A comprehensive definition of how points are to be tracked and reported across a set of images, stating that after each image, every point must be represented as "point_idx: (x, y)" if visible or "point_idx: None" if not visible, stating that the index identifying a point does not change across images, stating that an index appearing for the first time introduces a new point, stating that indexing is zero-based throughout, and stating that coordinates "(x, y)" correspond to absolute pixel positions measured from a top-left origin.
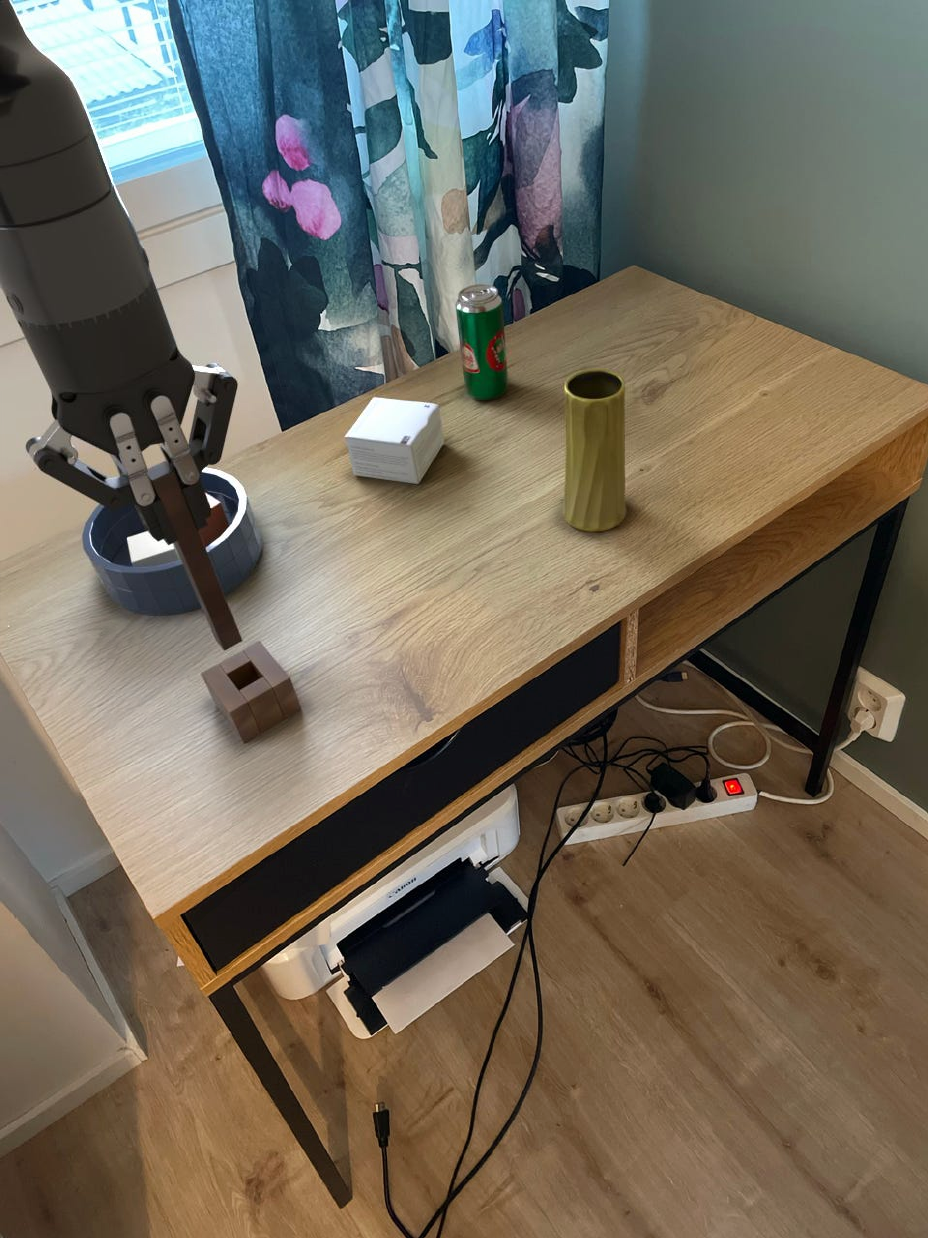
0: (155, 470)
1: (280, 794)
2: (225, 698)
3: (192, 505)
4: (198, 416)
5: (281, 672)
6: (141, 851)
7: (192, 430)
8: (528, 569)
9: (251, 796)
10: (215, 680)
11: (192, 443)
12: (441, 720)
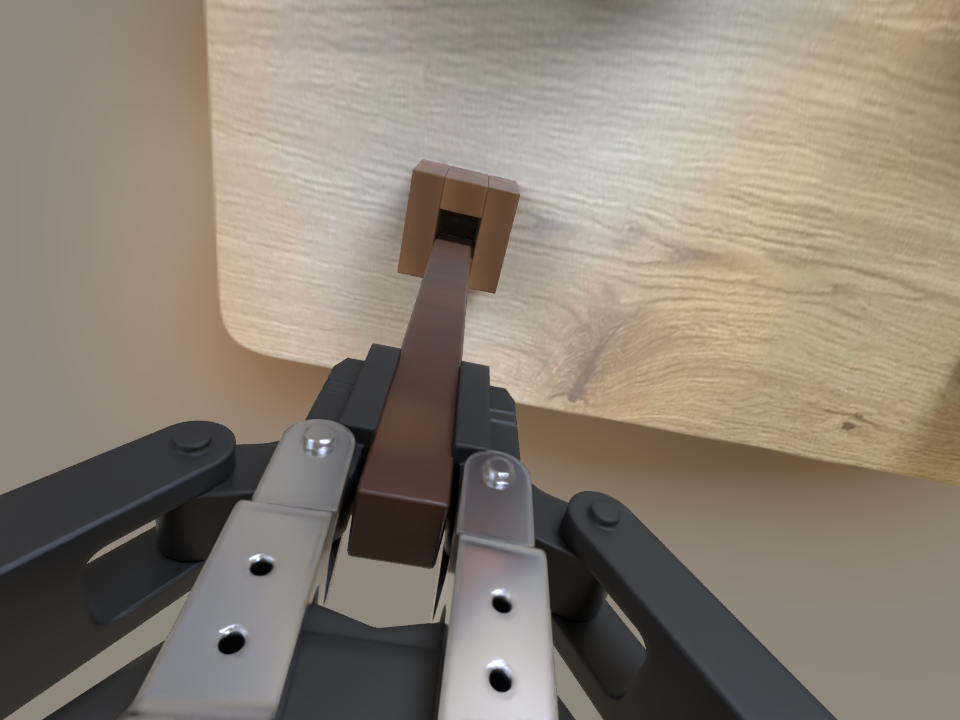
0: (389, 526)
1: (393, 341)
2: (409, 247)
3: None
4: (649, 653)
5: (494, 276)
6: (232, 273)
7: (604, 572)
8: (858, 345)
9: (368, 318)
10: (420, 204)
11: (562, 563)
12: (578, 409)
